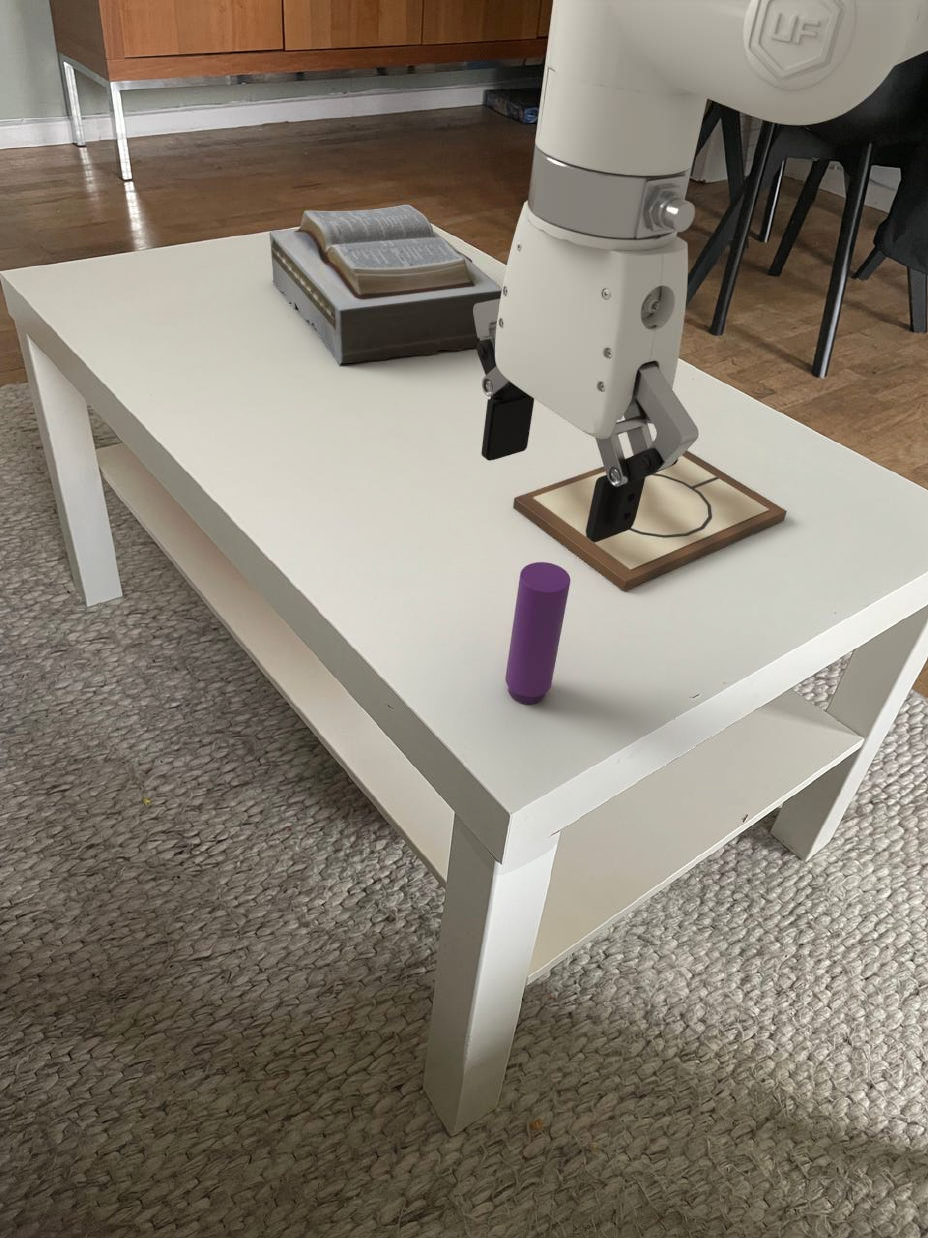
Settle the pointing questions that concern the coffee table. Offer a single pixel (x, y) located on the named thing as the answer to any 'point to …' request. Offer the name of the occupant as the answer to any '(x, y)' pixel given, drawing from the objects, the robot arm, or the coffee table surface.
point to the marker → (536, 631)
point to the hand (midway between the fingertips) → (553, 491)
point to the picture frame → (654, 519)
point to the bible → (379, 283)
